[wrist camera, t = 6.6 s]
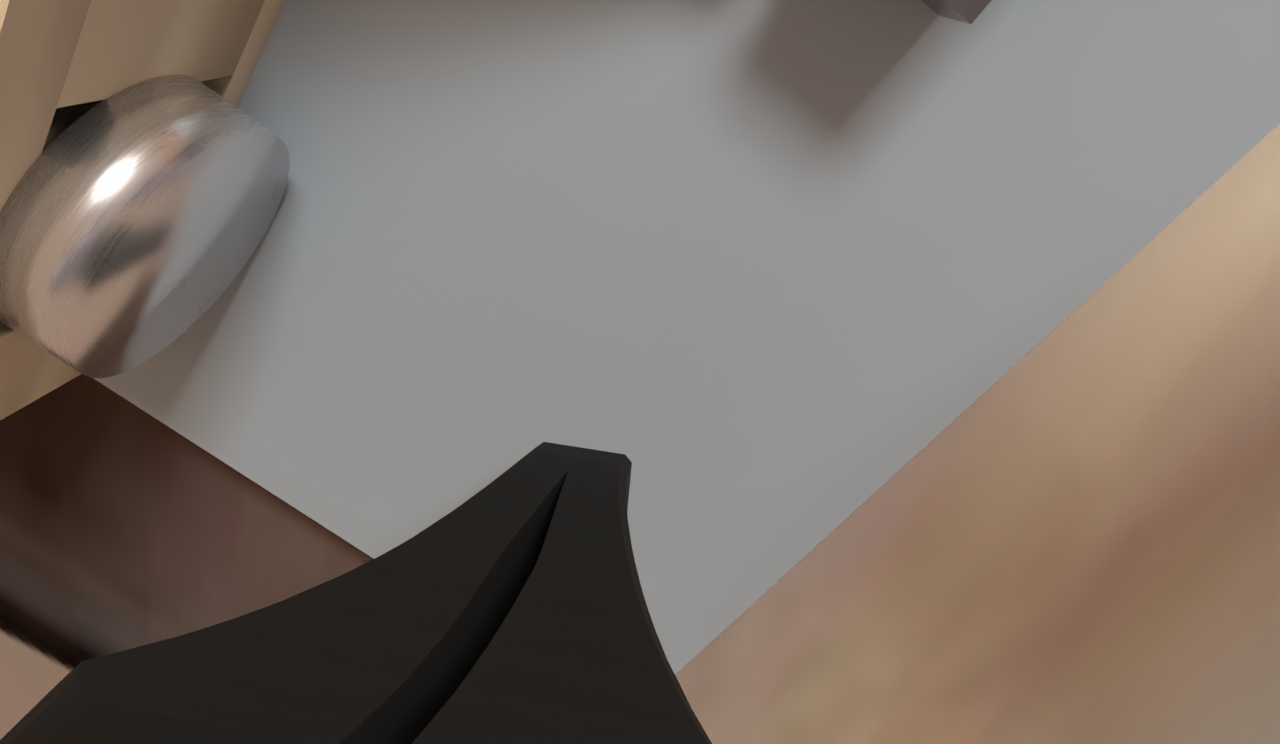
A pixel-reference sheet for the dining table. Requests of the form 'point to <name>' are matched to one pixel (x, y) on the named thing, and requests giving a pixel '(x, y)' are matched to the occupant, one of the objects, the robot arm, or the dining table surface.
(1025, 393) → the dining table surface
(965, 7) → the block
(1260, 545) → the dining table surface
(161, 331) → the pin
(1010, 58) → the board
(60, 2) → the block
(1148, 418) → the dining table surface
